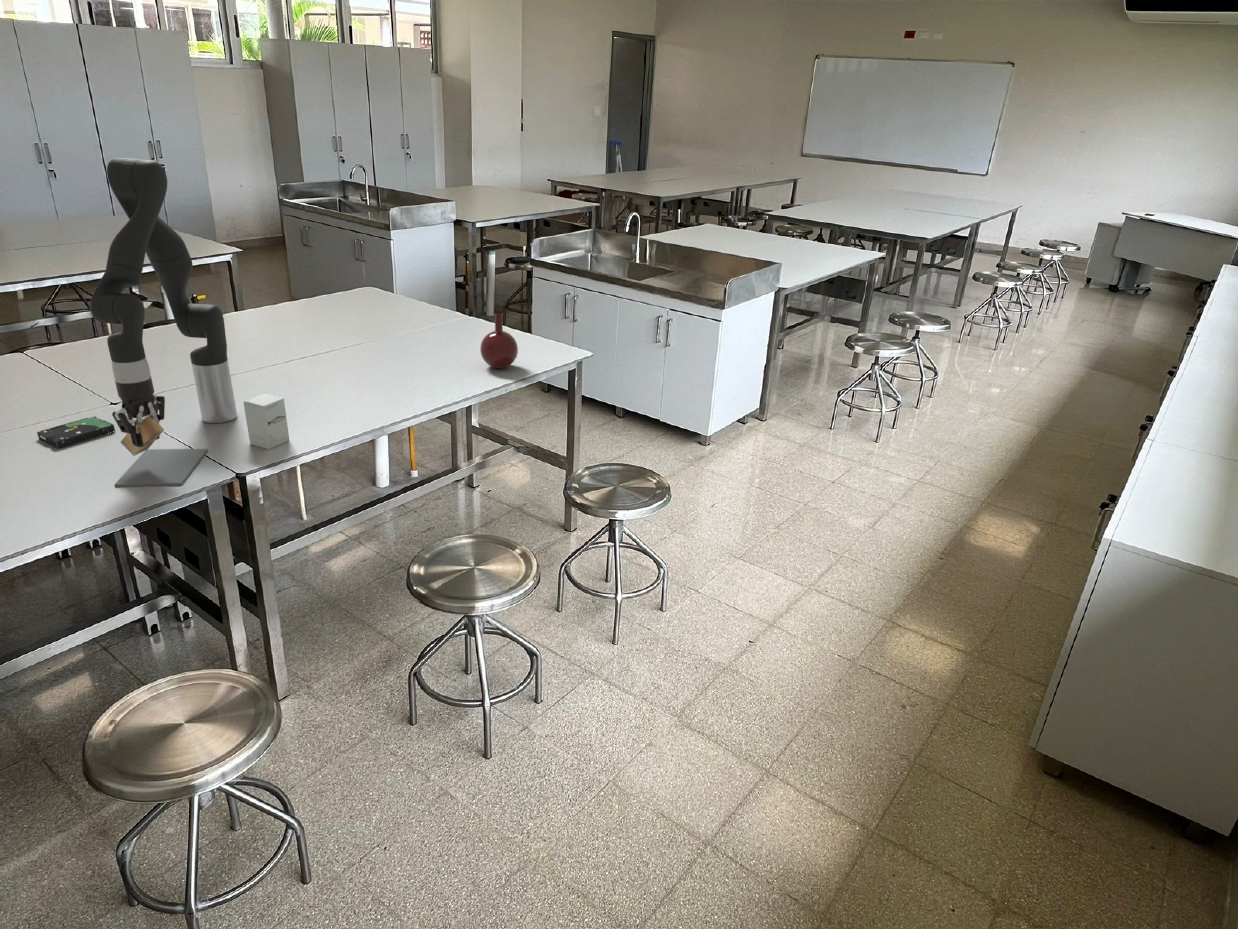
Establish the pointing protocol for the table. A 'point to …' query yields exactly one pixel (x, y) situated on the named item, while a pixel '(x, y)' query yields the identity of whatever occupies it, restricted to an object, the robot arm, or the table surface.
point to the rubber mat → (162, 467)
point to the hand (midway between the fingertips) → (147, 442)
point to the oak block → (143, 436)
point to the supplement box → (266, 421)
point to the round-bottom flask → (499, 346)
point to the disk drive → (75, 432)
